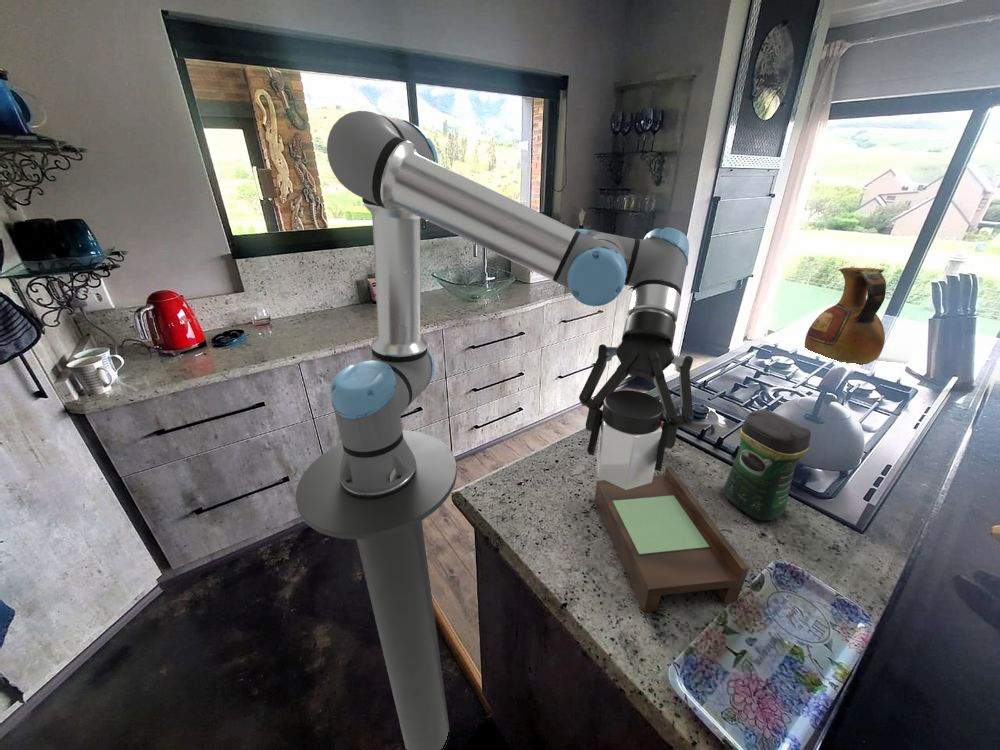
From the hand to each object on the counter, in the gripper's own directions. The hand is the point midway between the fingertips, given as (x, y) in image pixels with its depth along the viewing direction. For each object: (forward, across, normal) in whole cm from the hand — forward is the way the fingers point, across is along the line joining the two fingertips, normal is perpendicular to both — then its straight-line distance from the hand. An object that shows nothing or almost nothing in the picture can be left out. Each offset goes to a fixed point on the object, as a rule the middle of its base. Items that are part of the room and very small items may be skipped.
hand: (623, 461), depth 57 cm
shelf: (+10, -7, -17) cm, 21 cm away
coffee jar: (-2, -22, -29) cm, 37 cm away
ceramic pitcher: (-62, -55, -90) cm, 122 cm away
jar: (+1, 0, -5) cm, 5 cm away
